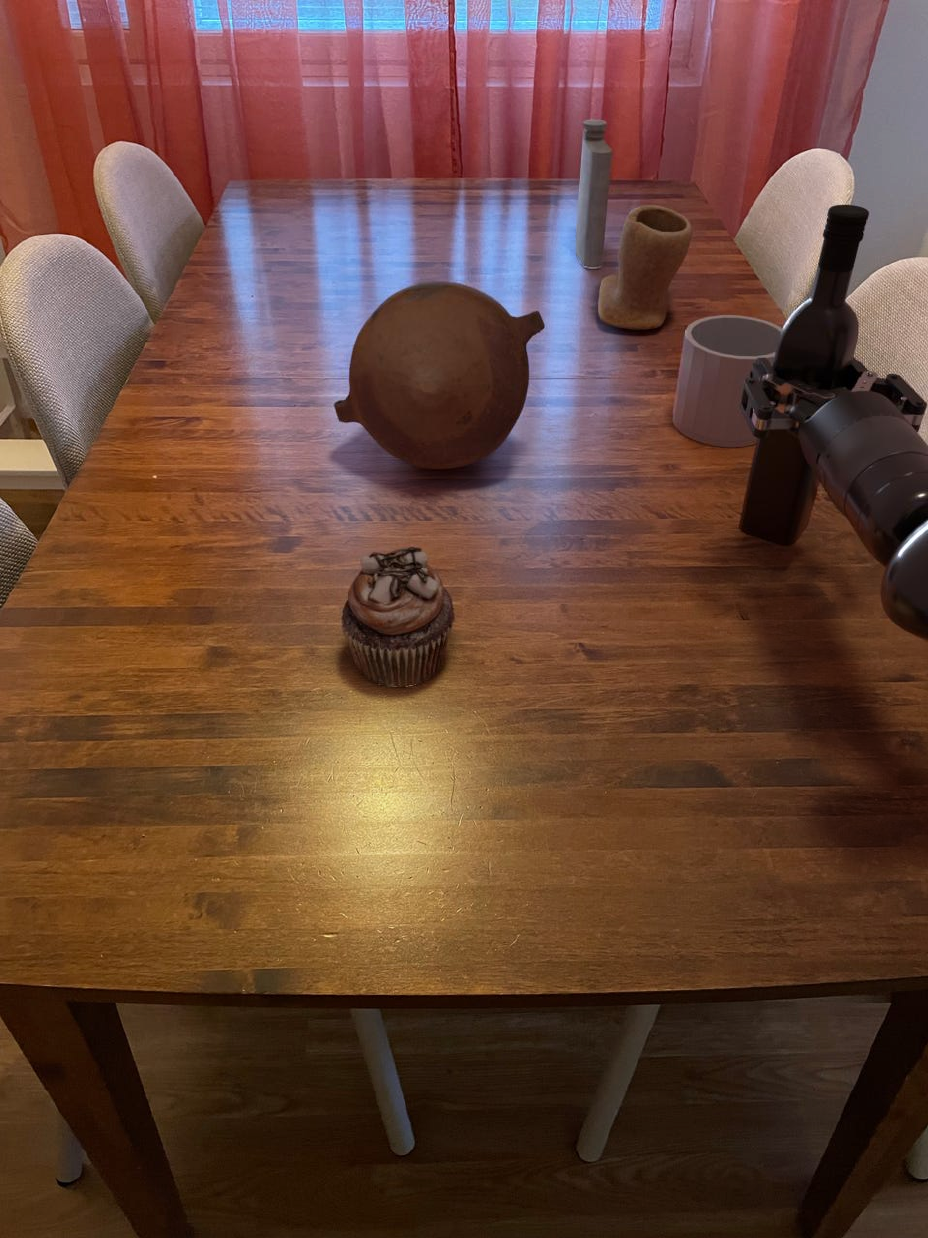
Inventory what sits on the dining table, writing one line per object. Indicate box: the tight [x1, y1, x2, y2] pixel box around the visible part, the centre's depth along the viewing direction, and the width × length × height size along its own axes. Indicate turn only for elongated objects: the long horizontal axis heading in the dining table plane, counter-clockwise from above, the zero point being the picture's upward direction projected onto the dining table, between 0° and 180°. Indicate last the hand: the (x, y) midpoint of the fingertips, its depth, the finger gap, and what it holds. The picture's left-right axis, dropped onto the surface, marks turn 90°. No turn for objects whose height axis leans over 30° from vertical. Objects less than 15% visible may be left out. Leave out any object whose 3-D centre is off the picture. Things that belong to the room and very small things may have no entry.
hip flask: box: [574, 119, 613, 267], centre depth 152 cm, size 16×4×20 cm, turn 179°
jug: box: [333, 280, 546, 470], centre depth 107 cm, size 20×20×30 cm
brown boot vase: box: [597, 204, 693, 331], centre depth 134 cm, size 15×12×15 cm
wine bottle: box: [738, 204, 870, 548], centre depth 83 cm, size 6×6×30 cm
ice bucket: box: [671, 314, 783, 448], centre depth 111 cm, size 12×12×11 cm
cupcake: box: [340, 546, 456, 688], centre depth 80 cm, size 10×10×10 cm
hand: (800, 366), depth 84 cm, fingers closed on wine bottle, 7 cm apart
